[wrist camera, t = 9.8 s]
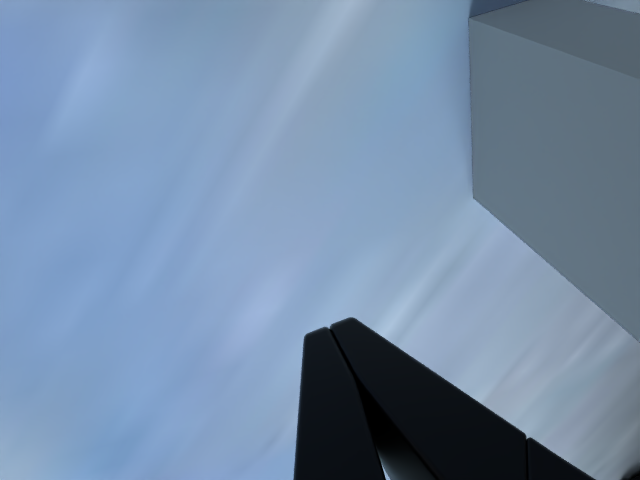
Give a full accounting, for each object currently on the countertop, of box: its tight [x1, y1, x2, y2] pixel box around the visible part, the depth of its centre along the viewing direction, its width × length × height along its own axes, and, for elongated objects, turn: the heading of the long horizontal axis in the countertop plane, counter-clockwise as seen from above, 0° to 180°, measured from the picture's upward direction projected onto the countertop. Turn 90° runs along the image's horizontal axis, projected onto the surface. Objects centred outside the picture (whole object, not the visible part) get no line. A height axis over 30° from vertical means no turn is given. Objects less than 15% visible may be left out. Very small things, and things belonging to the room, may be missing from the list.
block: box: [469, 0, 640, 342], centre depth 11 cm, size 5×2×8 cm, turn 9°
